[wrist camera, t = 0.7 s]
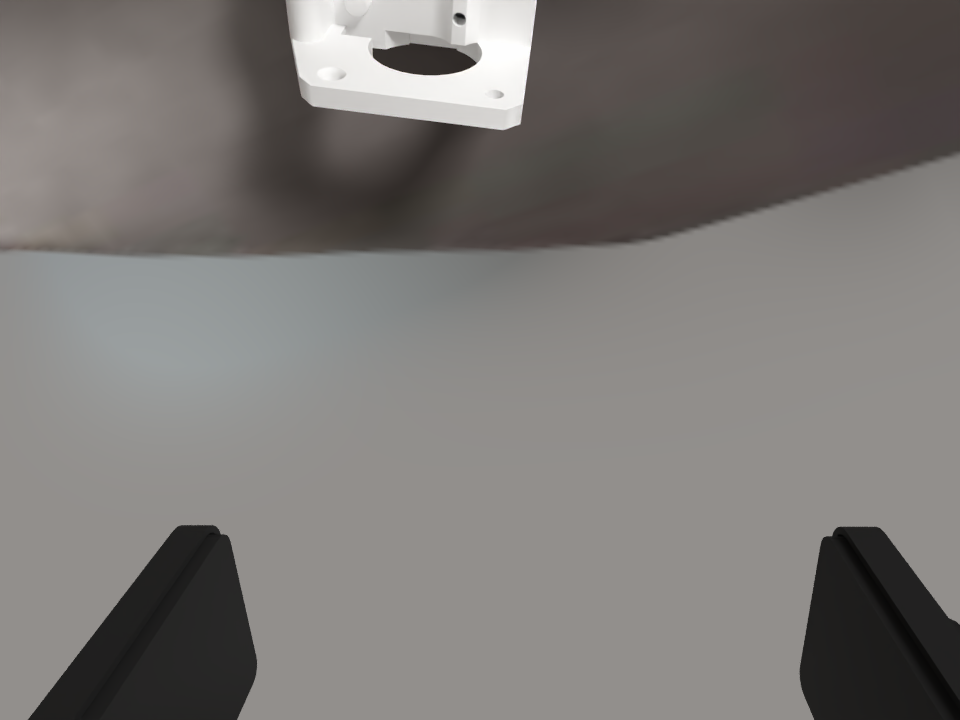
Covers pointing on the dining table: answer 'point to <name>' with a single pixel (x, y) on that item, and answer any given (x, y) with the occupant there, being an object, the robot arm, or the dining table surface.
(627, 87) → the dining table surface
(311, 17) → the mounting bracket
